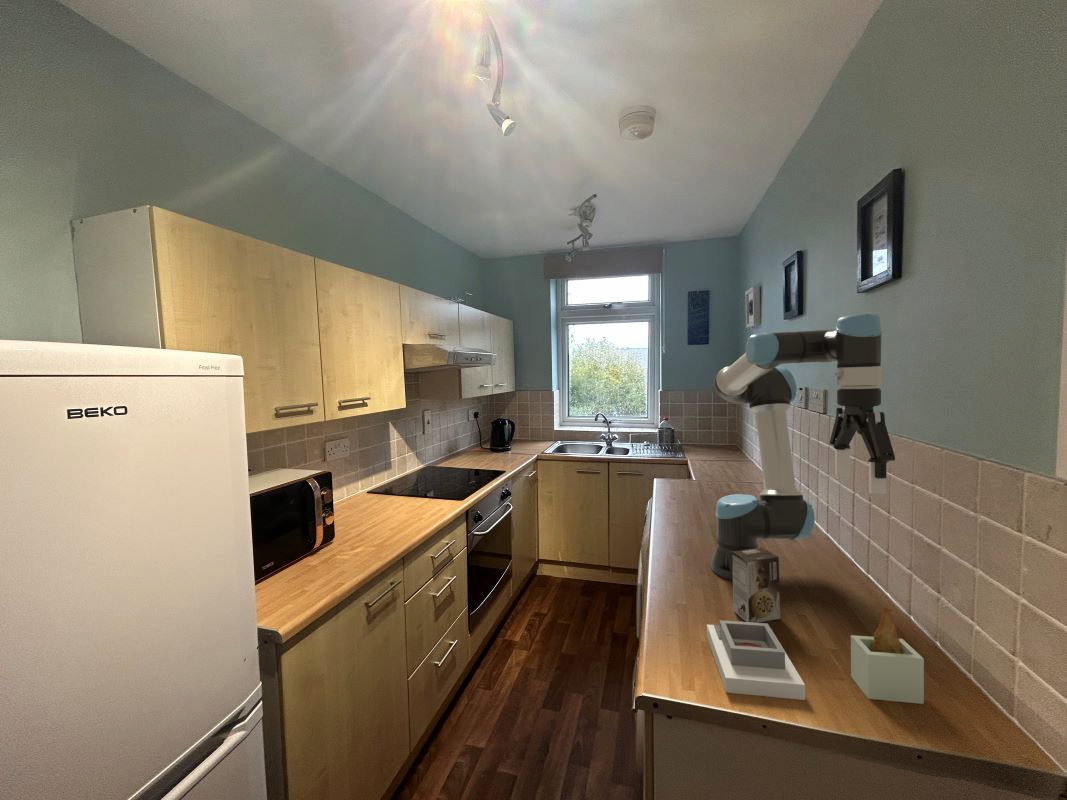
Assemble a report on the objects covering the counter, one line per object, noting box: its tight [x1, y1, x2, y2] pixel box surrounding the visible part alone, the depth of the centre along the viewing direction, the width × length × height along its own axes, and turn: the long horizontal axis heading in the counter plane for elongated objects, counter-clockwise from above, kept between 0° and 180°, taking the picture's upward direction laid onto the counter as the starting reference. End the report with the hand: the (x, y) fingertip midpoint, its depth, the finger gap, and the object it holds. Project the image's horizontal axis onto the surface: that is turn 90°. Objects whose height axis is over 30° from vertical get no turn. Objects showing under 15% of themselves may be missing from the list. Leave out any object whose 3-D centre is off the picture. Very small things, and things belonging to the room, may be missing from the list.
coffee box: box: [732, 547, 782, 623], centre depth 108 cm, size 9×6×16 cm
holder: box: [850, 634, 925, 705], centre depth 82 cm, size 6×9×9 cm, turn 79°
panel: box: [706, 619, 806, 701], centre depth 90 cm, size 18×14×6 cm
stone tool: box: [871, 605, 902, 654], centre depth 82 cm, size 5×2×15 cm, turn 84°
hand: (858, 485), depth 92 cm, fingers open, 13 cm apart
